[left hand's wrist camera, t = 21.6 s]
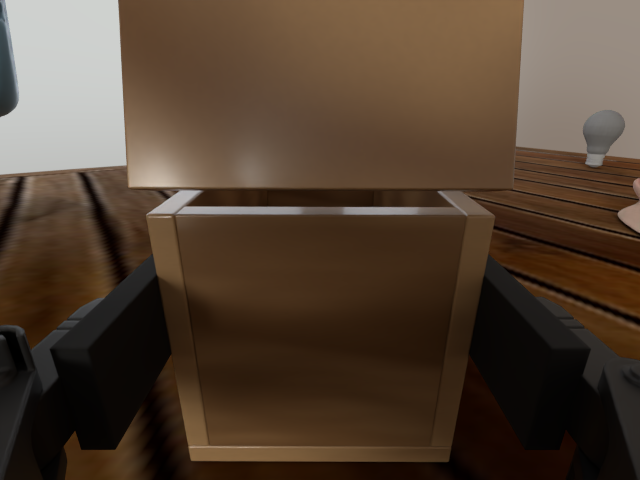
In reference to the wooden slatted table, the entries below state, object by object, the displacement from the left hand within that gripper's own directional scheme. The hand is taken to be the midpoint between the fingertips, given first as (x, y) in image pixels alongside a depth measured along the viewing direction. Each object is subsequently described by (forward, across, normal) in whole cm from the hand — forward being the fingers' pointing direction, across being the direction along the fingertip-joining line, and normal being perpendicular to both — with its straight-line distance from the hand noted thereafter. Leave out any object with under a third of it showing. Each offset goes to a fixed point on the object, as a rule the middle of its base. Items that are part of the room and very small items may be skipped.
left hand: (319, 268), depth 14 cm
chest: (+5, 0, -6) cm, 8 cm away
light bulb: (+57, +51, -6) cm, 77 cm away
